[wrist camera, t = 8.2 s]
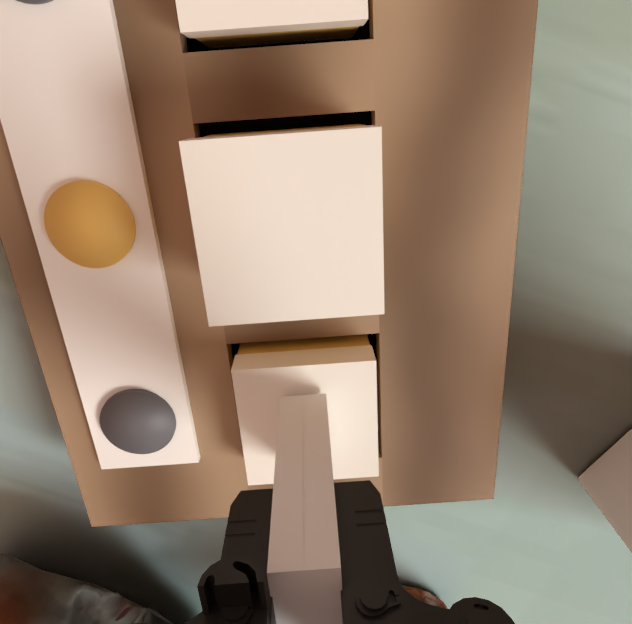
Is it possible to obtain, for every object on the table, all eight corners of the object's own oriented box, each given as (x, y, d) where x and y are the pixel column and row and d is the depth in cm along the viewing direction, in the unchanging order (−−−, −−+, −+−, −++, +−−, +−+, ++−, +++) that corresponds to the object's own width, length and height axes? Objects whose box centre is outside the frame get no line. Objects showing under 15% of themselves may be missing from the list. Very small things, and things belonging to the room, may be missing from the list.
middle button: (361, 121, 15) (382, 126, 11) (366, 268, 17) (384, 313, 13) (209, 132, 15) (178, 141, 11) (229, 278, 17) (209, 326, 13)
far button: (362, 312, 19) (376, 360, 16) (365, 411, 21) (378, 476, 17) (244, 320, 19) (231, 370, 16) (257, 419, 21) (248, 485, 17)
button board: (502, -254, 14) (572, -382, 11) (463, 437, 23) (493, 498, 20) (-54, -214, 14) (-177, -325, 11) (124, 460, 23) (91, 527, 20)
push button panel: (81, -161, 12) (72, -173, 11) (200, 457, 19) (197, 466, 18) (-70, -150, 12) (-86, -161, 11) (104, 463, 19) (99, 472, 18)
